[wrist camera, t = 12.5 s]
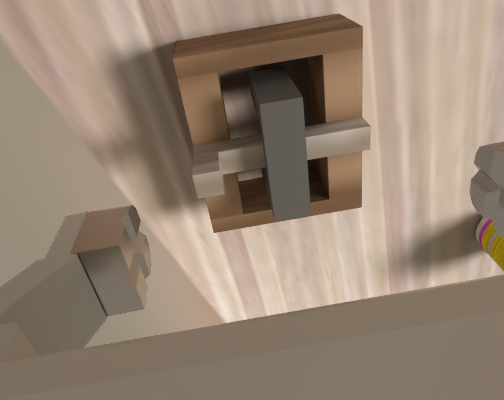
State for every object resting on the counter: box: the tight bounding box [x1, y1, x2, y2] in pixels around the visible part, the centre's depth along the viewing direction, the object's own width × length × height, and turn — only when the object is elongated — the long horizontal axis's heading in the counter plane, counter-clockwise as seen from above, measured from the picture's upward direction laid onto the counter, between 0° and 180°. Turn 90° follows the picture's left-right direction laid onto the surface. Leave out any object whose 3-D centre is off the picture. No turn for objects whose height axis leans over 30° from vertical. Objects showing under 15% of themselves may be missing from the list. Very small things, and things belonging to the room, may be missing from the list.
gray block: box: [249, 67, 311, 222], centre depth 35 cm, size 10×3×8 cm, turn 8°
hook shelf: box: [173, 14, 370, 233], centre depth 35 cm, size 16×14×11 cm
